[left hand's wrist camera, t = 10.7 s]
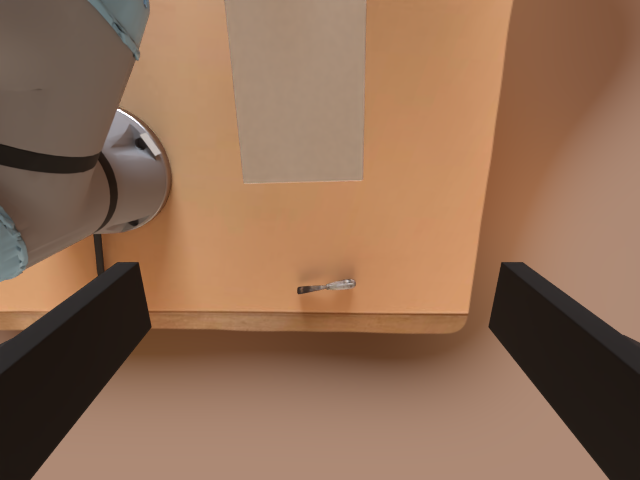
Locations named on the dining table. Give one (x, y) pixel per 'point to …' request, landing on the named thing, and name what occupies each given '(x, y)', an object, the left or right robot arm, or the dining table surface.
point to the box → (299, 88)
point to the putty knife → (329, 286)
